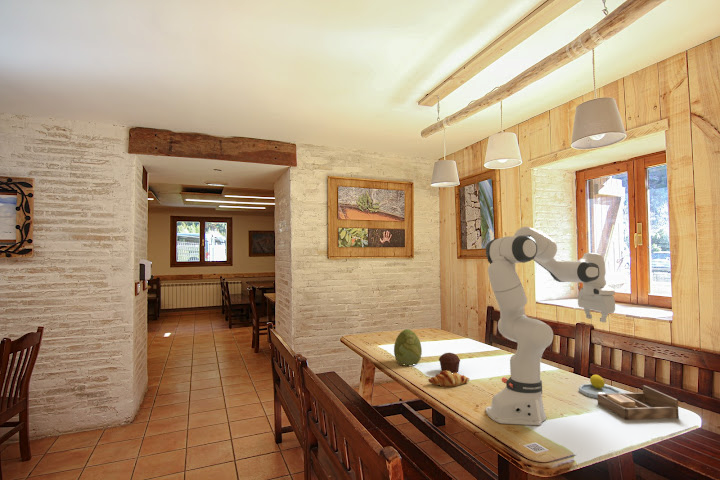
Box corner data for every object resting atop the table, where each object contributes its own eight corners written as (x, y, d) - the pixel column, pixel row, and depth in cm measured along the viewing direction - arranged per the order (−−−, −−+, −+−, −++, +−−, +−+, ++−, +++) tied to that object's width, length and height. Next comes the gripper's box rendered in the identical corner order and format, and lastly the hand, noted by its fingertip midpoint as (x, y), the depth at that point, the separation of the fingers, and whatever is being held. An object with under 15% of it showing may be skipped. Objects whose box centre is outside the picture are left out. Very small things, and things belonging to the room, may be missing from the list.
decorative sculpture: (393, 367, 217) (393, 332, 217) (394, 359, 233) (393, 326, 234) (422, 367, 215) (421, 332, 215) (421, 359, 231) (420, 326, 232)
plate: (594, 400, 164) (594, 396, 164) (572, 387, 180) (572, 384, 180) (630, 399, 164) (630, 395, 164) (604, 386, 180) (604, 383, 180)
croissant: (466, 387, 191) (463, 371, 195) (474, 384, 183) (471, 367, 187) (426, 389, 188) (424, 373, 192) (433, 386, 180) (430, 369, 183)
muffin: (449, 367, 214) (449, 349, 215) (464, 372, 205) (464, 353, 206) (434, 371, 208) (434, 353, 208) (449, 376, 199) (449, 357, 199)
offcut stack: (623, 417, 147) (622, 403, 148) (606, 407, 156) (606, 394, 157) (639, 416, 148) (638, 402, 148) (621, 407, 157) (620, 394, 157)
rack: (625, 419, 145) (625, 401, 145) (597, 403, 161) (597, 386, 161) (678, 418, 145) (677, 399, 146) (645, 401, 161) (644, 385, 162)
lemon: (595, 392, 174) (589, 383, 182) (608, 390, 172) (602, 381, 180) (592, 381, 174) (586, 372, 181) (605, 379, 172) (599, 370, 180)
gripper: (573, 287, 179) (574, 316, 178) (603, 291, 158) (604, 324, 158) (586, 287, 179) (587, 316, 179) (617, 291, 159) (619, 324, 158)
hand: (595, 320), depth 168 cm, fingers open, 8 cm apart
